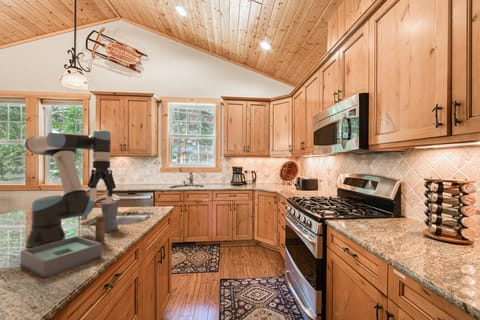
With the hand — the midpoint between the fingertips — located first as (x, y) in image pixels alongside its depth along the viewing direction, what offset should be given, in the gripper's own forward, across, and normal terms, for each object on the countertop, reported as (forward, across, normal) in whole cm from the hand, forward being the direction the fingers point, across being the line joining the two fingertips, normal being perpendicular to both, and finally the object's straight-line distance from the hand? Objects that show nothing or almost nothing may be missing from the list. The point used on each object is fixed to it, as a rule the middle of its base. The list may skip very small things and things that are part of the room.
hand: (100, 201), depth 111 cm
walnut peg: (+22, 0, 0) cm, 22 cm away
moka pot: (+22, -18, +16) cm, 33 cm away
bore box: (+22, +7, -19) cm, 30 cm away
